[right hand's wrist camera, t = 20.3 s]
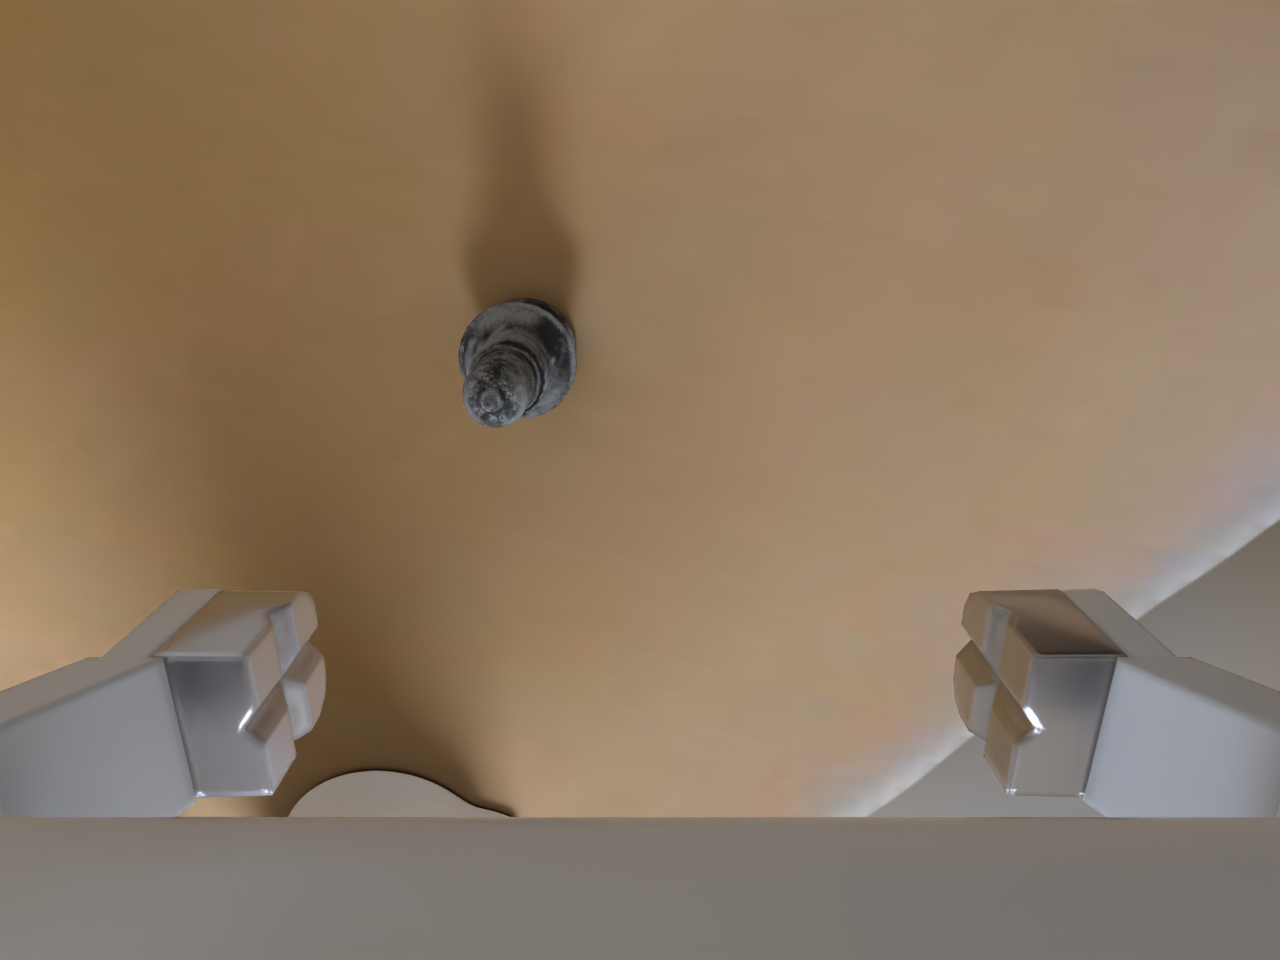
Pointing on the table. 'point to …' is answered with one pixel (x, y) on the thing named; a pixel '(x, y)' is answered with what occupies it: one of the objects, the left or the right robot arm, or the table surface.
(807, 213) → the table surface
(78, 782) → the right robot arm
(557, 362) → the grey chess piece
